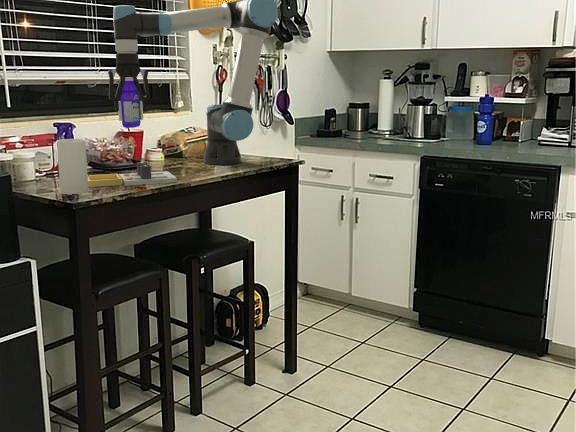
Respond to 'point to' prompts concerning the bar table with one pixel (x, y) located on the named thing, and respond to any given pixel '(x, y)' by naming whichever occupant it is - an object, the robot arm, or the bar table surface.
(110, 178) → the yellow square tray
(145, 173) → the breaker
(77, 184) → the light grey upright block
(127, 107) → the bottle
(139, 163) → the block
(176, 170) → the bar table surface
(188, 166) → the bar table surface
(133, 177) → the breaker board
